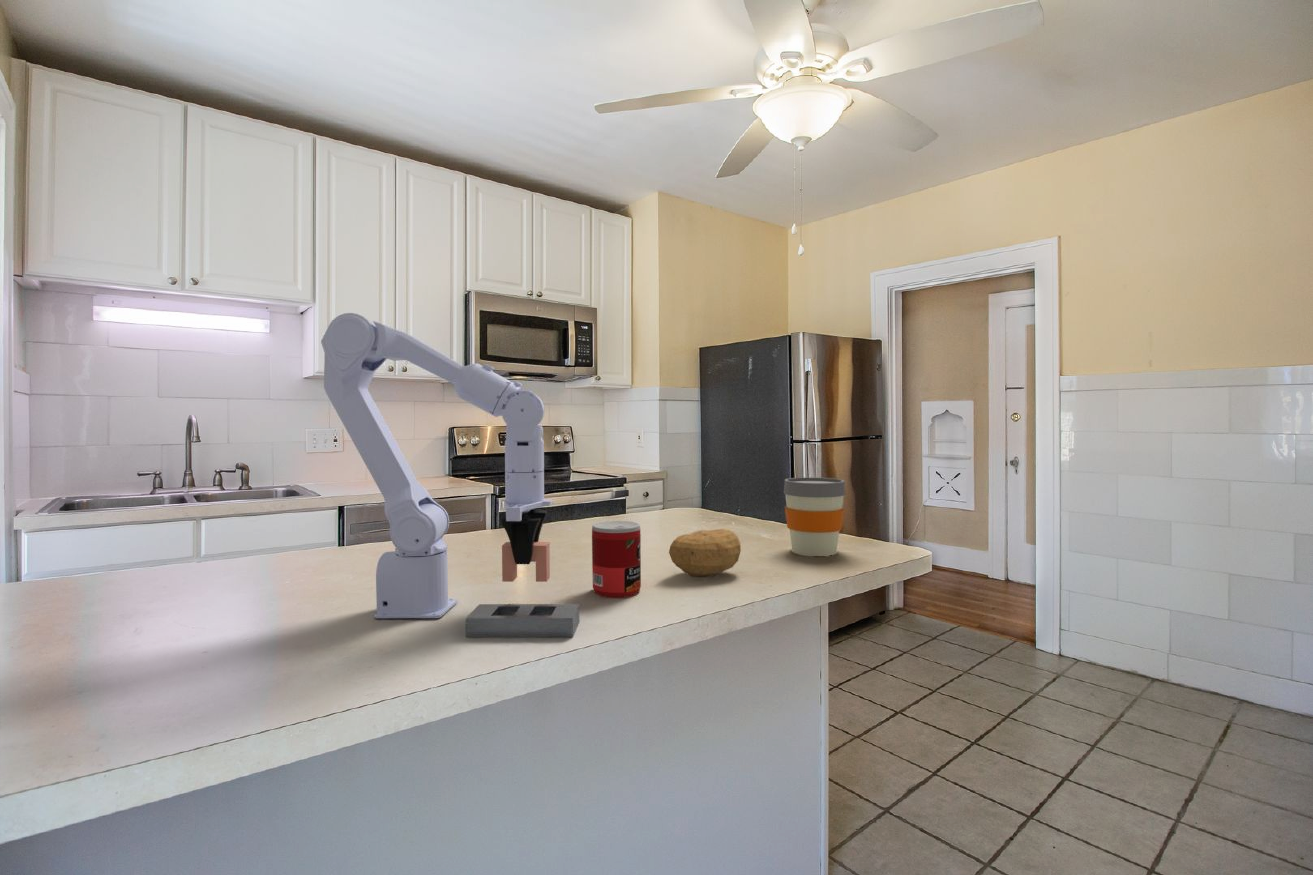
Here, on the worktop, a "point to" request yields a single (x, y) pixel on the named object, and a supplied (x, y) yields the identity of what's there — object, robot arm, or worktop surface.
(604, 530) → the canned food
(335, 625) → the worktop surface
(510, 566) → the clip
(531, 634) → the grey slotted block
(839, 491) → the reusable coffee cup
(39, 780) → the worktop surface
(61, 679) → the worktop surface
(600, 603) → the worktop surface
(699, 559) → the potato
